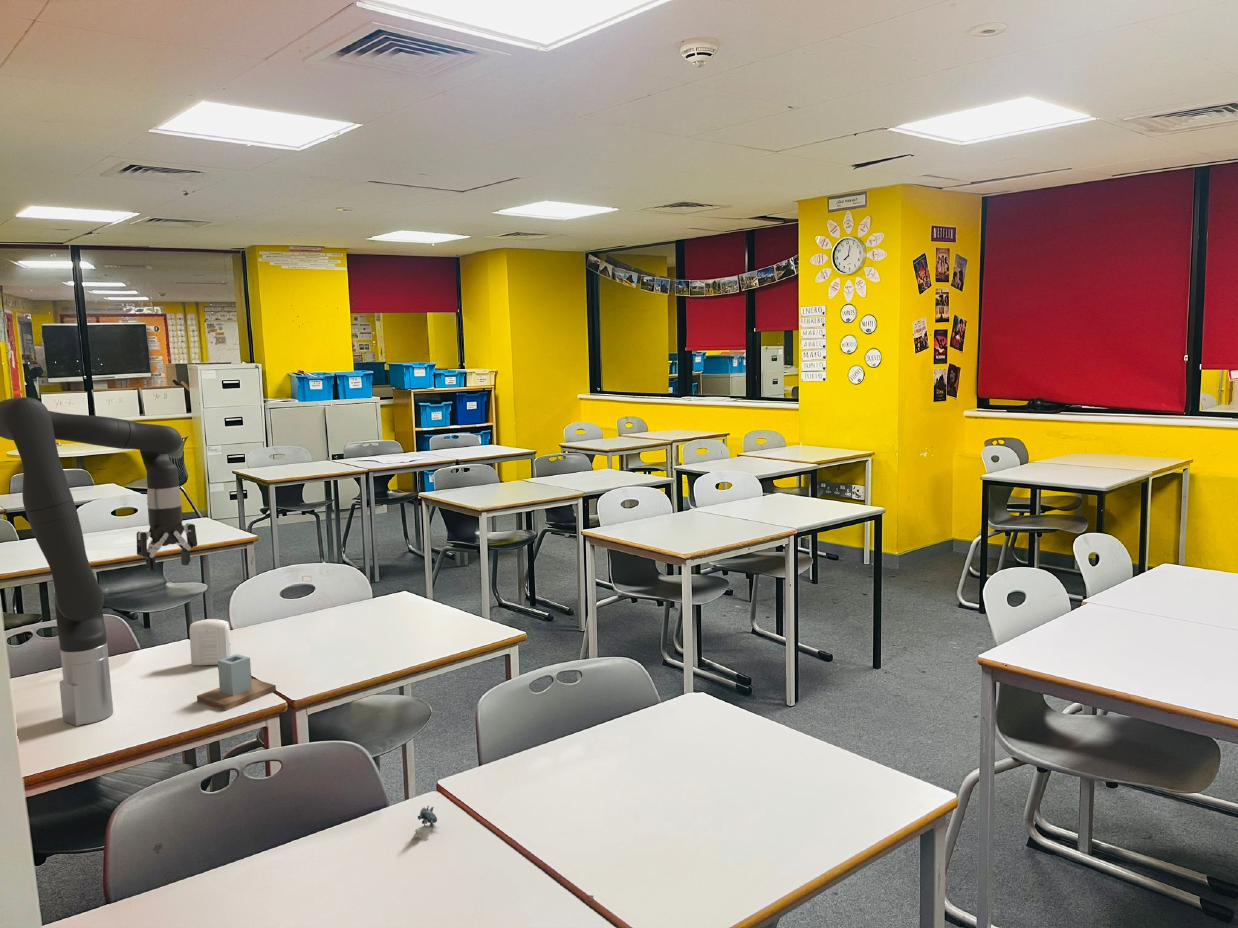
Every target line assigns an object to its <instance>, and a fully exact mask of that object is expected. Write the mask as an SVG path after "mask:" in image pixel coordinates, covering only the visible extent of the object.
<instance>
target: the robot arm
mask: <svg viewBox="0 0 1238 928" xmlns="http://www.w3.org/2000/svg"><path fill="white" fill-rule="evenodd" d="M0 437H1V438H2V439H6V440H10V441H14V444H15V445H14V446H15V447H16V449H17V451H18V454H19V457H20V460H21V463H22V473H23V474H22V475H23V476H22V503H23V507H24V510H25V514H26V518H27V520H28V523H29V526H30V530H31V531H32V534H33V536H34V538H35V540H36V543H37V545H38V547H39V549H40V550H41V552H42V555H43V556H44V558H45V560H46V561H47V562H46V563H47V564H48V567H49V569H50V573H51V576H52V580H53V581H52V582H53V587H54V589H55V591H54V608H55V609H54V610H55V611H54V612H55V619H56V626H57V627H56V628H57V629H56V630H57V636H58V642H59V649H60V659H61V660H60V661H61V668H62V679H63V680H60V681H59V691H60V701H61V703H60V704H61V713H62V720H63V722H65V723H67V724H70V725H73V726H75V727H78V726H81V725H87V724H92V723H97V722H100V721H102V720H105V719H108V718H109V717H110V716H112V715H113V714H114V705H113V696H112V683H111V673H110V662H109V661H110V660H109V652H108V651H109V650H108V639H107V629H106V626H105V625H106V624H105V619H104V611H103V606H104V600H105V595H104V591H103V589H102V588H101V585H100V584H99V582H98V580H97V579H96V576H95V573H94V572H93V569H92V566H91V564H90V562H89V559H88V555H87V551H86V546H85V539H84V535H83V530H82V525H81V521H80V518H79V513H78V511H77V507H76V504H75V500H74V498H73V494H72V492H71V489H70V486H69V484H68V481H67V476H66V474H65V470H64V468H63V465H62V462H61V459H60V456H59V455H60V454H59V451H58V447H57V441H65V442H66V441H67V442H73V443H80V444H86V445H91V446H97V447H106V448H113V449H119V450H121V449H122V450H138V451H139V453H140V456H141V459H142V462H143V463H142V464H143V466H144V468H145V471H146V485H147V487H146V488H147V491H146V499H147V503H146V506H147V514H148V524H149V529H148V531H141V530H139V531H137V532H136V555H137V556H140V557H144V558H145V566H146V570H147V571H148V572H150V573H156V572H157V565H156V557H155V555H156V554H157V553H158V551H160V549H161V548H162V547H166V546H170V545H177V546H179V548H180V549H181V550H180V562H181V565H182V566H188V565H190V563H191V549H192V548H195V547H197V546H198V540H197V539H198V537H197V532H196V526H195V525H196V524H193V523H189V522H188V523H186V524H184V525H183V511H182V510H183V509H182V508H183V507H182V495H181V490H180V482H179V478H180V477H179V470H178V466H177V465H176V464H174V463H173V462H172V461H171V459H170V455H169V454H173V453H175V452H177V451H178V450H179V449H180V447H181V445H182V440H183V439H182V436H181V433H180V432H179V431H178V430H177V429H176V428H174V427H172V426H170V425H161V424H151V423H141V422H137V421H132V420H127V419H122V418H115V417H109V416H102V415H101V416H99V415H91V414H90V415H87V414H72V413H65V412H64V413H63V412H57V411H53V410H52V411H51V410H48V408H47V407H46V405H45V404H44V403H43V402H41V401H40V400H38V399H36V398H33V397H27V396H24V397H23V396H22V397H13V398H7V399H3V400H1V401H0ZM56 440H57V441H56ZM184 532H185V535H186V539H185V538H184V537H183V536H182V535H183V533H184ZM149 538H151V540H150V541H149V544H148V540H149Z"/></svg>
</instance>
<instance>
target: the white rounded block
mask: <svg viewBox="0 0 1238 928" xmlns="http://www.w3.org/2000/svg"><path fill="white" fill-rule="evenodd" d="M230 630H231V629H230V623H229V622H228V621H227V620H222V619H218V618H217V619H216V618H208V619H202V620H198V621H195V622H192V623H191V624H190V626H189V646H190V647H189V648H190V660H191V662H190V663H191V664H190V665H192V666H194V667H195V666H210V665H211V666H212V665H213V666H218V660H221V659H224V658H227V657H230V656H232V643H231V631H230Z"/></svg>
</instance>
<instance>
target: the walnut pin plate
mask: <svg viewBox="0 0 1238 928" xmlns="http://www.w3.org/2000/svg"><path fill="white" fill-rule="evenodd" d="M251 680H252V689H251V690H248V691H245V692H243V693H240V694H237V695H235V696H231V695H228V694H225V693H222V692H220V687H217V688H214V689H211V690H209V691H206V692H203V693H201V694H198V695H196V701H197V703H200V704H203V705H206V706H209V707H212V708H215V709H218V710H222V711H224V712H225V711H228V710H231V709H234V708H237V707H238V706H241V705H245V704H246V703H248V702H251V701H254V700H256V699H257V700H258V699H260V698H262V697H264V696H267V695H269V694H272V693H275V692H276V691H277V685H275V684H273V683H269V682H265V681H262V680H258V679H255V678H252V677H251Z"/></svg>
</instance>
